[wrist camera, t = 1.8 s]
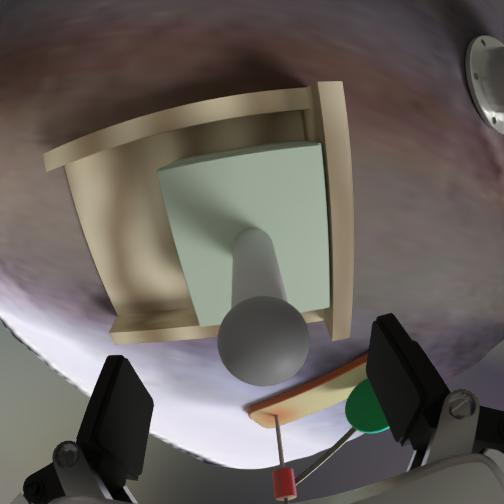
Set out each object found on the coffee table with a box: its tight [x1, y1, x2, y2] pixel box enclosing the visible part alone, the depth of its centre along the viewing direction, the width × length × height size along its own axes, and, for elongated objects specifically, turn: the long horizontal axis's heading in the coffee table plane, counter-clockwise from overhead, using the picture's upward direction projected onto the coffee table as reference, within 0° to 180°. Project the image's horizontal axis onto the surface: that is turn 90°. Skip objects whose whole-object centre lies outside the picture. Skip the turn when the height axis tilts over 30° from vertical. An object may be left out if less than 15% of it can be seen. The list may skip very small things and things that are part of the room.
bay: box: [43, 81, 354, 344], centre depth 22 cm, size 23×20×7 cm
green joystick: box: [156, 139, 330, 386], centre depth 17 cm, size 10×12×17 cm
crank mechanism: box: [248, 353, 390, 504], centre depth 28 cm, size 25×7×19 cm, turn 122°
